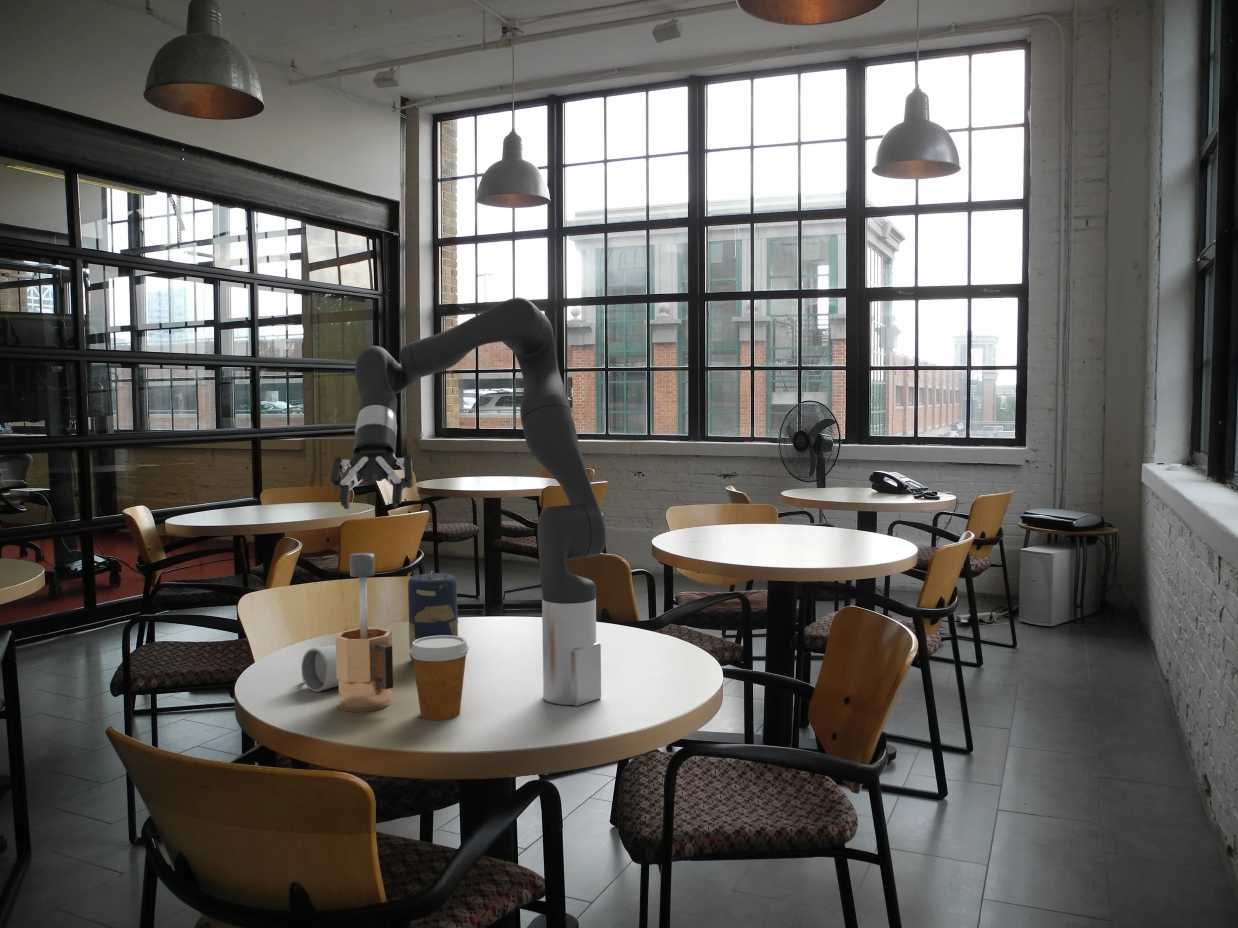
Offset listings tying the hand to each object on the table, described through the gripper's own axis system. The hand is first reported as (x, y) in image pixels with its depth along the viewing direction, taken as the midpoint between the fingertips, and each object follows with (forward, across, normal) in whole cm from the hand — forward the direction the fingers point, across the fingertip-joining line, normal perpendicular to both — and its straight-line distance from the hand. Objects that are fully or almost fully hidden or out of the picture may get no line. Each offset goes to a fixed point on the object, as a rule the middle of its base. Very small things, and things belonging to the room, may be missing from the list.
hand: (370, 505), depth 167 cm
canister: (+14, -9, -35) cm, 39 cm away
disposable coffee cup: (+36, -12, -9) cm, 39 cm away
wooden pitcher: (+32, 0, -13) cm, 35 cm away
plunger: (+23, +1, -7) cm, 24 cm away
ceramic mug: (+23, +9, -24) cm, 34 cm away
